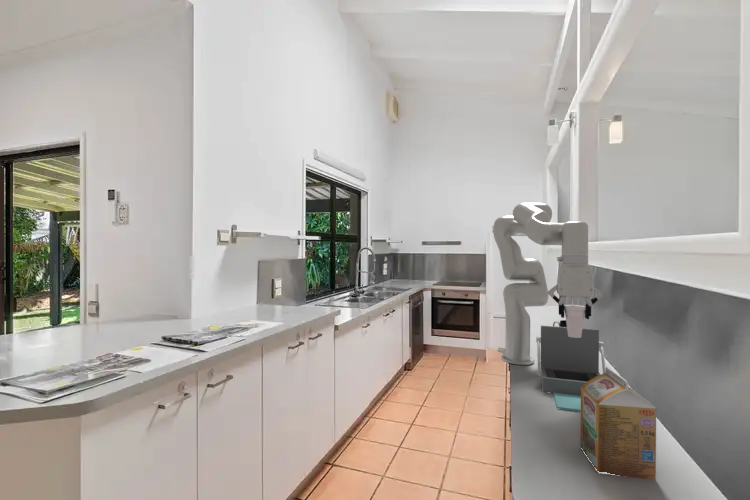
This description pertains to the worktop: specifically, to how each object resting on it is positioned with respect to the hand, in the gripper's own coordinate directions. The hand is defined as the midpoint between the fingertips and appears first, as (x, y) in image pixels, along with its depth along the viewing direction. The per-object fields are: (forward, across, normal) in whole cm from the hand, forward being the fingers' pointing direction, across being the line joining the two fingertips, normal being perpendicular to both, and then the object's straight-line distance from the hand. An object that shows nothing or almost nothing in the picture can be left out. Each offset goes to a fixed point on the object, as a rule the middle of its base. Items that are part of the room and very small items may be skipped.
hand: (574, 317), depth 126 cm
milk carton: (+25, +2, -42) cm, 49 cm away
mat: (+24, 0, -9) cm, 26 cm away
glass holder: (+24, +3, +50) cm, 55 cm away
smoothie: (+6, 0, 0) cm, 6 cm away
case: (+24, 0, +5) cm, 24 cm away
